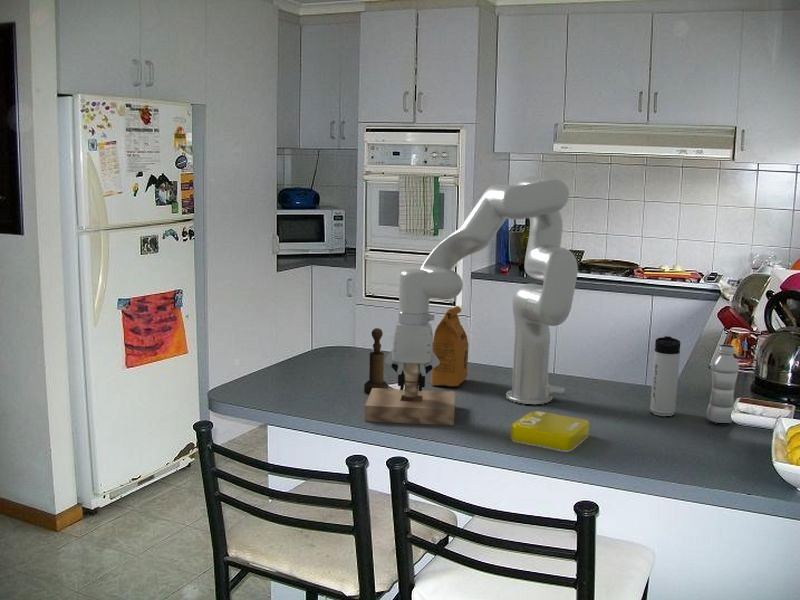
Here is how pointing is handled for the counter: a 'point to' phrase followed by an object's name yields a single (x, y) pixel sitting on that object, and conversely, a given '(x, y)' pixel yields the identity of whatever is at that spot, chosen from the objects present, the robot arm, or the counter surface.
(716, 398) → the plastic bottle
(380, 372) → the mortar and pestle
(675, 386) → the travel mug
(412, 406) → the board
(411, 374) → the peg
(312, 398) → the counter surface
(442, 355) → the coffee package
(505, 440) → the counter surface
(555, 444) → the element tile
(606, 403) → the counter surface
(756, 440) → the counter surface
